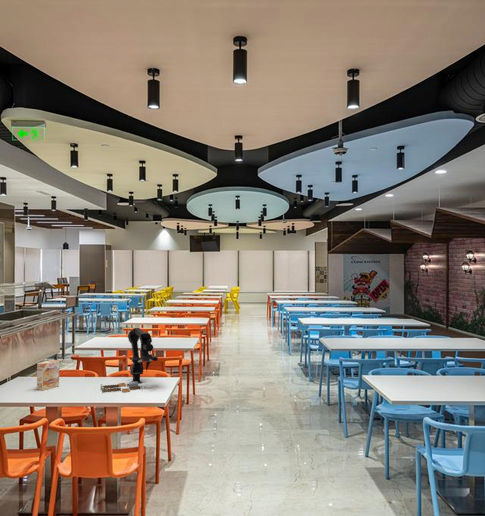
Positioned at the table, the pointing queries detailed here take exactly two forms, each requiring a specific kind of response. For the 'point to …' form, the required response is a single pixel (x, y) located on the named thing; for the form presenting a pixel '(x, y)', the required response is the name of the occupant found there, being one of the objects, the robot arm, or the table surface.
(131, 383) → the slate block
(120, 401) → the table surface
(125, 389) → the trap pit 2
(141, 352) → the robot arm
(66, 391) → the table surface
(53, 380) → the coffeecake box
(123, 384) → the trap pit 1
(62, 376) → the table surface
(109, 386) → the finger box
